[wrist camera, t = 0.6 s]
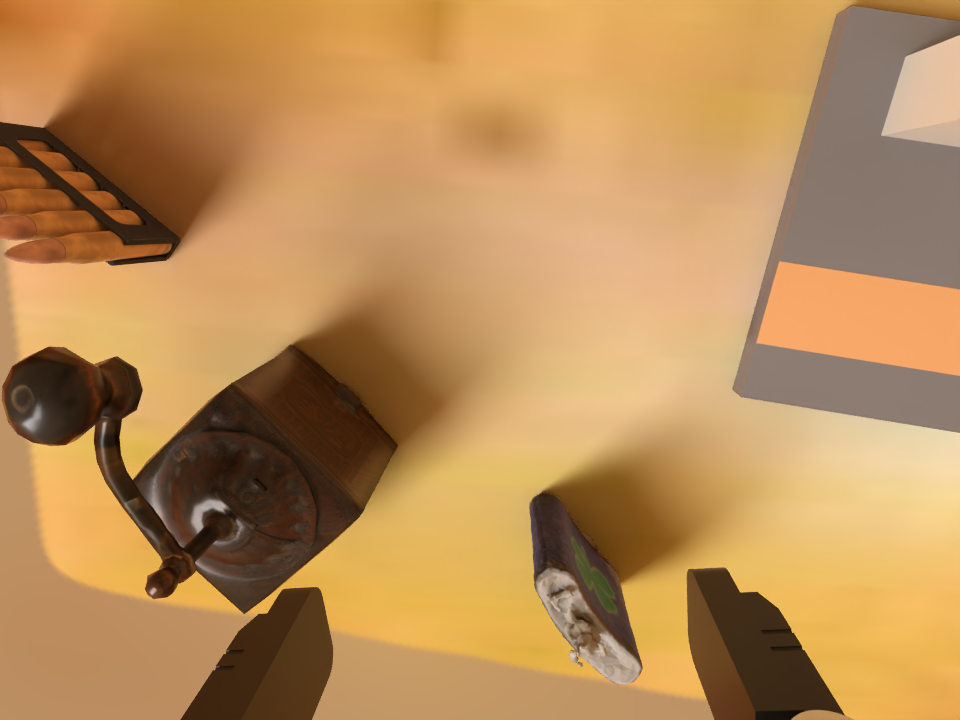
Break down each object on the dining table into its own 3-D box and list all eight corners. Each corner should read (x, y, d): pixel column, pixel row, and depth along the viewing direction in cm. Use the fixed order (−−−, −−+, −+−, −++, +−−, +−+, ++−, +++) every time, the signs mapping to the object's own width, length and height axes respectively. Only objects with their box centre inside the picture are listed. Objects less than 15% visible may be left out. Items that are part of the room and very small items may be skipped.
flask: (625, 580, 42) (658, 701, 32) (591, 599, 43) (612, 725, 32) (551, 483, 41) (560, 577, 30) (517, 505, 41) (514, 605, 31)
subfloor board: (836, 14, 32) (851, 5, 31) (1113, 54, 32) (1142, 46, 30) (732, 389, 38) (741, 396, 36) (965, 427, 37) (984, 436, 36)
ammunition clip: (181, 239, 38) (32, 253, 26) (166, 261, 38) (13, 284, 27) (43, 127, 37) (-177, 89, 25) (29, 150, 37) (-192, 125, 26)
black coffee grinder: (409, 442, 40) (324, 618, 23) (304, 535, 43) (156, 757, 26) (244, 277, 38) (14, 334, 21) (144, 384, 41) (-137, 515, 23)
